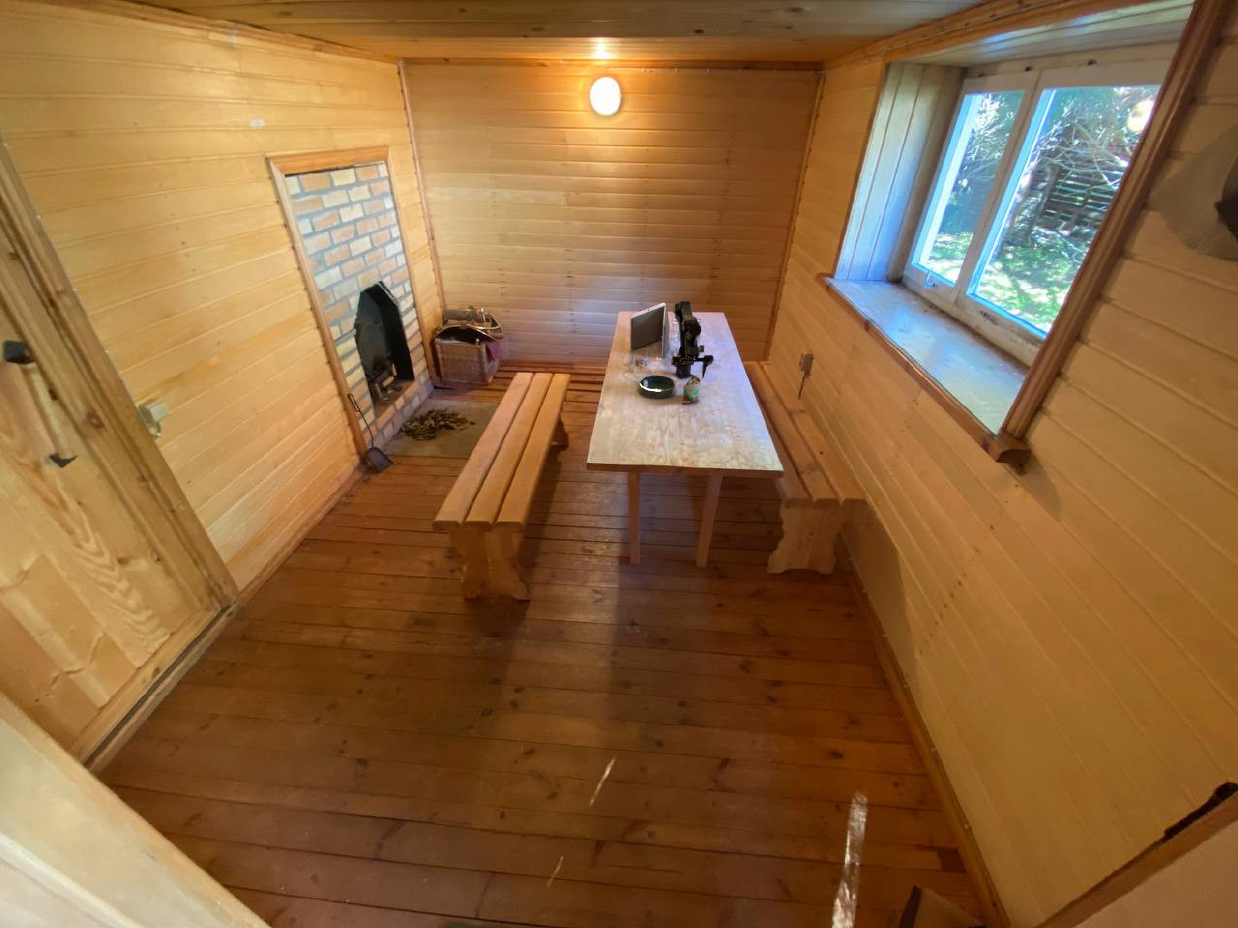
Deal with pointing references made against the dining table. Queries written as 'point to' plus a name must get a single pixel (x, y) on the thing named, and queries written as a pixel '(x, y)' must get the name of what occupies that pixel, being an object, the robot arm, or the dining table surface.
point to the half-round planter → (691, 390)
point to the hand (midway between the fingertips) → (693, 378)
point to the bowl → (657, 386)
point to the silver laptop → (650, 327)
